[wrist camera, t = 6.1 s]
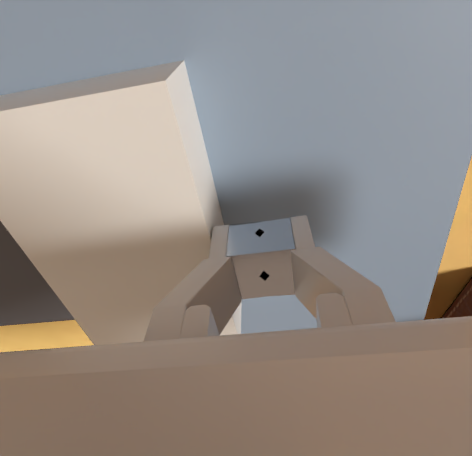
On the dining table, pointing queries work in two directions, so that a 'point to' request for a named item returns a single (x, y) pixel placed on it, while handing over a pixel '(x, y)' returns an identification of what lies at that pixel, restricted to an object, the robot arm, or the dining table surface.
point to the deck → (295, 116)
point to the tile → (110, 193)
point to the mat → (25, 288)
